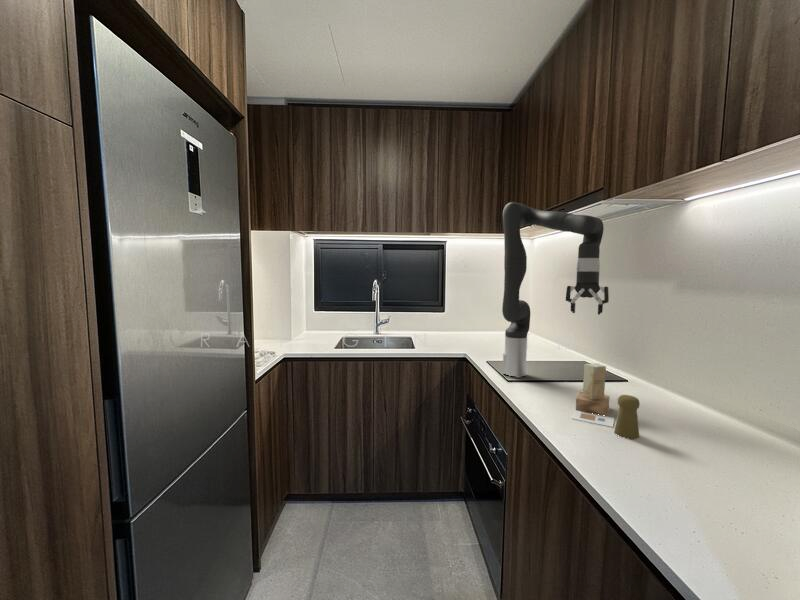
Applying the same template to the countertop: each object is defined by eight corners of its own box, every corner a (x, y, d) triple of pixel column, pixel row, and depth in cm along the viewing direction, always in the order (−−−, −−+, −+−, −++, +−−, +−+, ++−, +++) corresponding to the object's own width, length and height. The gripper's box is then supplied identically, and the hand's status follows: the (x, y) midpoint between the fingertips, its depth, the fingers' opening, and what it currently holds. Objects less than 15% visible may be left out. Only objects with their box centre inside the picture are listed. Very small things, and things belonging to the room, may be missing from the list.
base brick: (575, 410, 119) (576, 398, 118) (579, 402, 126) (579, 391, 126) (607, 416, 114) (607, 404, 113) (608, 407, 121) (609, 396, 121)
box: (591, 400, 117) (593, 366, 116) (581, 395, 121) (583, 363, 120) (604, 398, 118) (606, 365, 117) (594, 394, 122) (596, 362, 122)
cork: (616, 427, 105) (618, 391, 104) (640, 433, 102) (642, 395, 101) (612, 434, 101) (614, 396, 100) (638, 441, 97) (640, 401, 96)
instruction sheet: (571, 418, 112) (571, 418, 112) (575, 410, 118) (575, 409, 118) (612, 427, 106) (612, 426, 105) (614, 418, 112) (614, 417, 112)
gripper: (610, 270, 133) (608, 314, 135) (568, 270, 141) (567, 311, 142) (609, 270, 127) (607, 315, 128) (565, 270, 135) (563, 313, 136)
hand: (586, 313), depth 135 cm, fingers open, 8 cm apart
